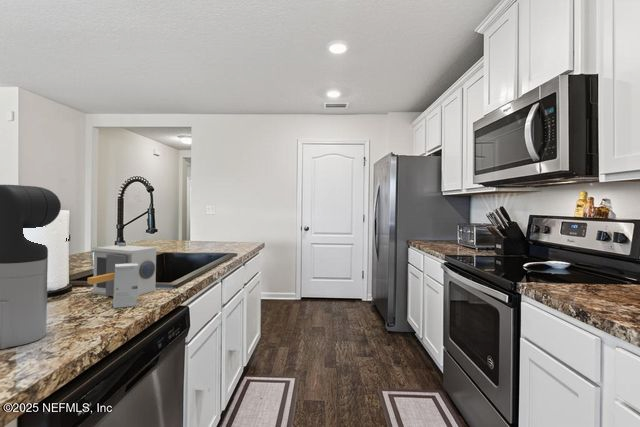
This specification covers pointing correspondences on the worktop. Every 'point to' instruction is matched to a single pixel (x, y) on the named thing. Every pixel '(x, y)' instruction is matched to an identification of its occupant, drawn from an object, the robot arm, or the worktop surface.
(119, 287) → the skincare box
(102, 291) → the grey box with disc
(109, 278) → the hatch
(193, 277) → the worktop surface
